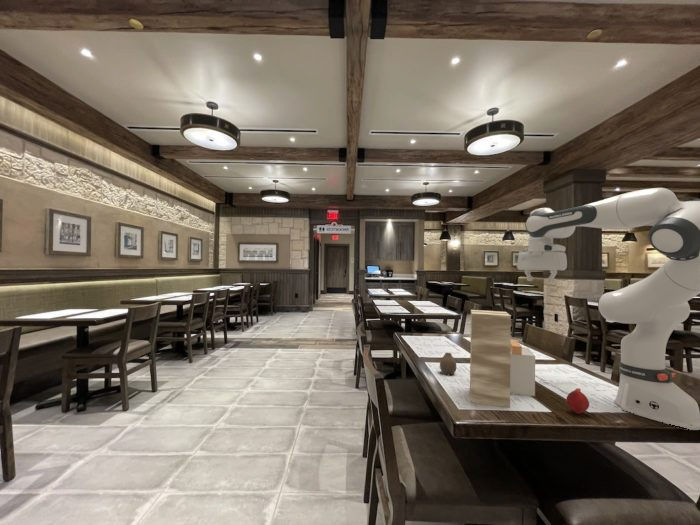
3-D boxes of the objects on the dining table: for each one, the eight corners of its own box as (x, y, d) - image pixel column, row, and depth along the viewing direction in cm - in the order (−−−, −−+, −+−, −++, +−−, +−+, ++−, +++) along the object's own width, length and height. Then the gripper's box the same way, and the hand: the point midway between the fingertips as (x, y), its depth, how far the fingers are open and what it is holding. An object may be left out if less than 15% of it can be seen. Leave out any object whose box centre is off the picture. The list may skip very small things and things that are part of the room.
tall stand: (469, 389, 122) (470, 309, 122) (505, 394, 118) (505, 311, 118) (470, 401, 110) (472, 313, 111) (509, 407, 106) (510, 315, 107)
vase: (458, 376, 137) (458, 355, 137) (442, 376, 137) (442, 355, 137) (453, 371, 144) (453, 351, 144) (437, 370, 144) (438, 351, 144)
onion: (579, 418, 99) (579, 392, 99) (562, 410, 105) (562, 385, 105) (593, 416, 101) (593, 390, 101) (575, 408, 106) (575, 384, 106)
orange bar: (505, 343, 136) (505, 336, 136) (513, 344, 135) (513, 337, 135) (512, 354, 118) (512, 346, 118) (521, 355, 117) (521, 346, 117)
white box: (494, 380, 132) (495, 345, 133) (527, 384, 129) (528, 347, 129) (498, 391, 120) (498, 352, 121) (534, 396, 116) (535, 355, 117)
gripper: (513, 249, 143) (513, 280, 142) (558, 246, 123) (558, 282, 123) (524, 249, 145) (524, 280, 144) (569, 246, 126) (569, 282, 125)
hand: (540, 281), depth 134 cm, fingers open, 8 cm apart
